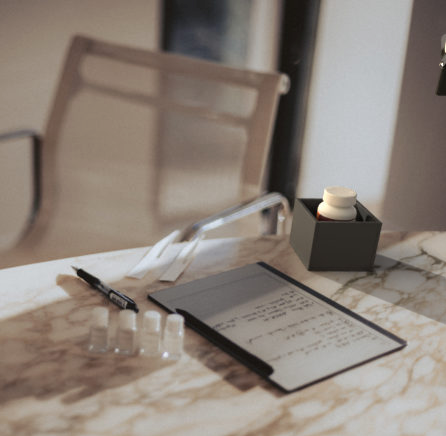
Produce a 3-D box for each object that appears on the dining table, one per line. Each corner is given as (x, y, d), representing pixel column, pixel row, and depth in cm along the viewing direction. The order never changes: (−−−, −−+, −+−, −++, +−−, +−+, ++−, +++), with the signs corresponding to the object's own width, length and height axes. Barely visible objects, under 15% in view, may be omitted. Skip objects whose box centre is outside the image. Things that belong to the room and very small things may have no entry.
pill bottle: (304, 247, 109) (313, 186, 104) (335, 244, 110) (346, 183, 106) (323, 262, 103) (334, 199, 99) (355, 259, 105) (368, 196, 100)
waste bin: (347, 243, 112) (356, 198, 109) (372, 271, 102) (382, 223, 99) (288, 242, 112) (295, 197, 108) (307, 270, 102) (315, 222, 98)
